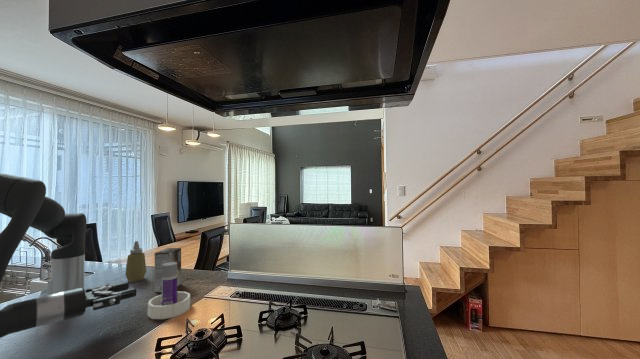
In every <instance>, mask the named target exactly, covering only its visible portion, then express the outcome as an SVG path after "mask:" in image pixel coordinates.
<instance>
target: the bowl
mask: <svg viewBox="0 0 640 359" xmlns="http://www.w3.org/2000/svg"><path fill="white" fill-rule="evenodd" d="M190 308H191V293H189V292H188V291H179V290H177V303H175V304H170V305H164V306H162V293H161V294H159V295H156V296H154V297H152V298H150V299H149V301H148V302H147V317H148V318H149V319H151V320H165V319H172V318H176V317H178V316H180V315H183V314H186V312H188V310H190Z"/></svg>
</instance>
